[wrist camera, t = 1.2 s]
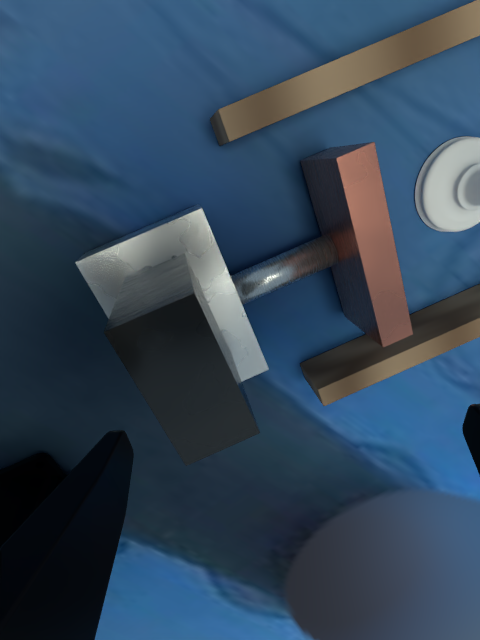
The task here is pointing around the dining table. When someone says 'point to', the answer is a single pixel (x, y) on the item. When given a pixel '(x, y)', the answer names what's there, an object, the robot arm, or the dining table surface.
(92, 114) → the dining table surface
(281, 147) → the dining table surface
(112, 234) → the dining table surface
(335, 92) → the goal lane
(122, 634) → the dining table surface
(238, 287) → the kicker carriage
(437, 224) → the chess piece
